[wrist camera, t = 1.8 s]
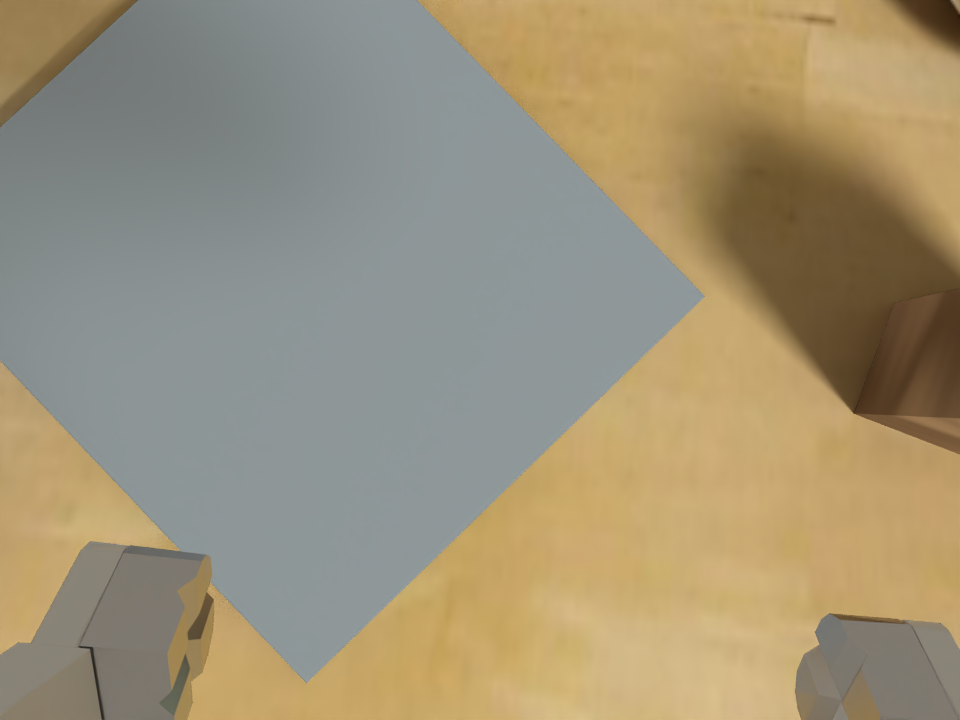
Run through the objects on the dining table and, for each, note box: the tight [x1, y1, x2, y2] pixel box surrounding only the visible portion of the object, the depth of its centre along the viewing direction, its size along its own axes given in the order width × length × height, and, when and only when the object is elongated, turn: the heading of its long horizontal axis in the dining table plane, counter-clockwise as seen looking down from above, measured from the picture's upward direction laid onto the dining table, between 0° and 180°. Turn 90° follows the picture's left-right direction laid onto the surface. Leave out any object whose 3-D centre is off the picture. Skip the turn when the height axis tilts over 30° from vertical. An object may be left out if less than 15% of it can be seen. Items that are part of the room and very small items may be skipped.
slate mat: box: [0, 0, 705, 683], centre depth 30 cm, size 20×18×1 cm
